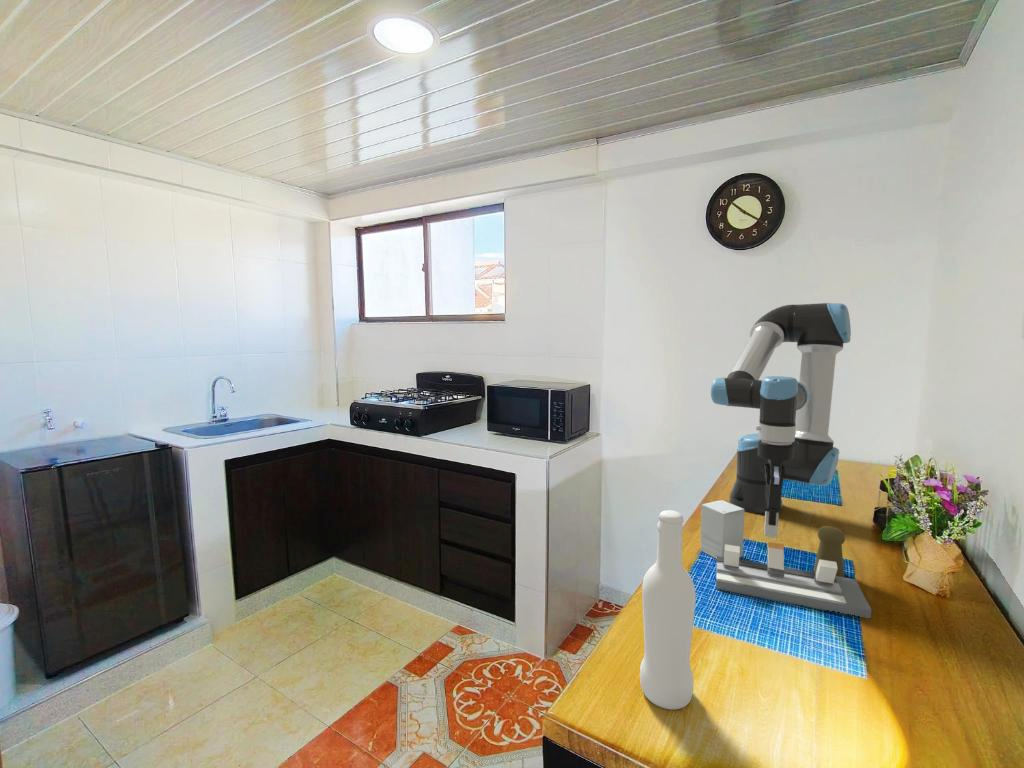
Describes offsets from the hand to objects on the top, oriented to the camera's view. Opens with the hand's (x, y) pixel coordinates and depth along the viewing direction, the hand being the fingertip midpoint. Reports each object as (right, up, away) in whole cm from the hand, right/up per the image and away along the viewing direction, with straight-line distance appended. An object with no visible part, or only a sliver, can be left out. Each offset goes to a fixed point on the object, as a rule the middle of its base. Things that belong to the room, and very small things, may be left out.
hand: (770, 535), depth 114 cm
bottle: (-39, -12, -39) cm, 56 cm away
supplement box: (-10, -7, +6) cm, 13 cm away
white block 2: (+4, -5, -14) cm, 15 cm away
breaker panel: (-3, -8, -11) cm, 14 cm away
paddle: (-5, -5, -10) cm, 12 cm away
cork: (+11, -7, -5) cm, 14 cm away
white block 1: (-13, -5, -7) cm, 15 cm away
